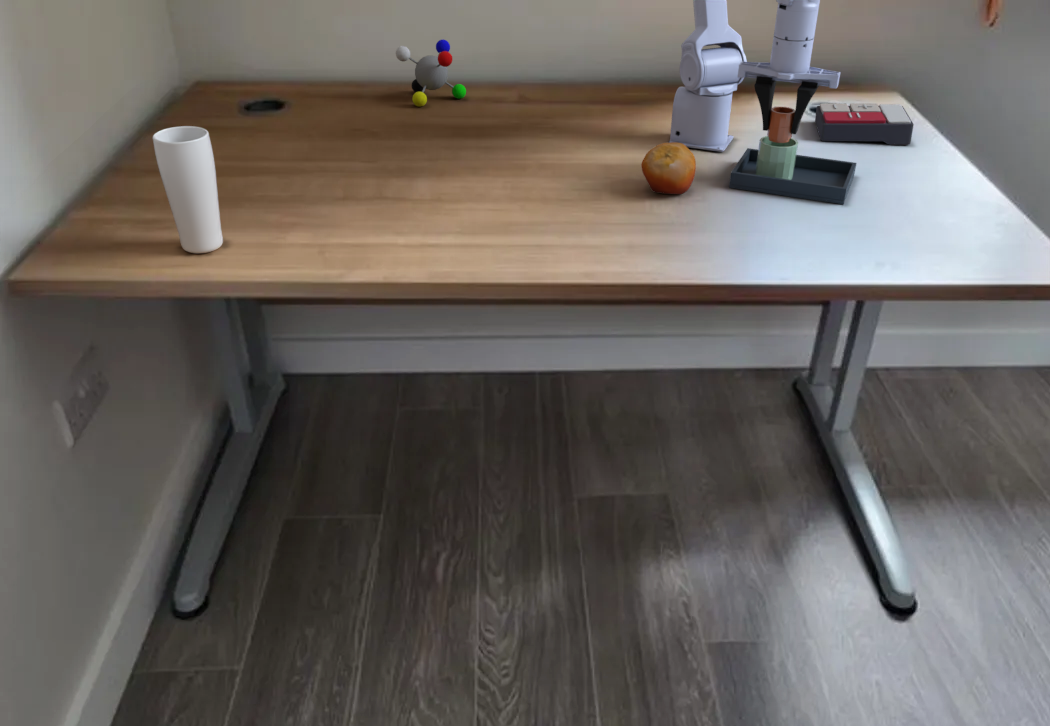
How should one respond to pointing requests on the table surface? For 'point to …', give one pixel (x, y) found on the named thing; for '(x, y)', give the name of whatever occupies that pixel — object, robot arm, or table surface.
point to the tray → (798, 178)
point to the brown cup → (780, 124)
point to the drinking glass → (190, 185)
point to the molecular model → (431, 72)
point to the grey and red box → (864, 123)
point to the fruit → (669, 168)
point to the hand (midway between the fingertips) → (780, 130)
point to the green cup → (776, 158)
